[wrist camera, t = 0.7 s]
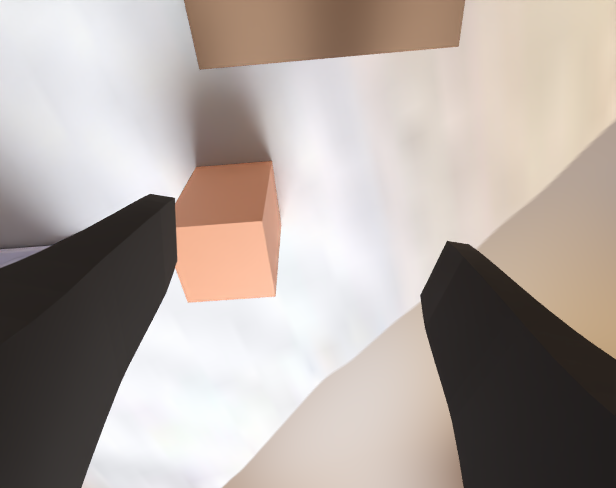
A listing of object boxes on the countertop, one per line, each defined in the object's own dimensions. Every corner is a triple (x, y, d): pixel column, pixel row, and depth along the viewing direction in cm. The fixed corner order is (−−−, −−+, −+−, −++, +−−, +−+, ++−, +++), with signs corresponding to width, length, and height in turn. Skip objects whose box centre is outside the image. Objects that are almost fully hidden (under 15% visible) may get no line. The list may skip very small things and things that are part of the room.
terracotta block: (213, 230, 22) (187, 302, 17) (196, 166, 20) (161, 228, 15) (281, 225, 22) (275, 296, 17) (271, 160, 19) (262, 221, 15)
